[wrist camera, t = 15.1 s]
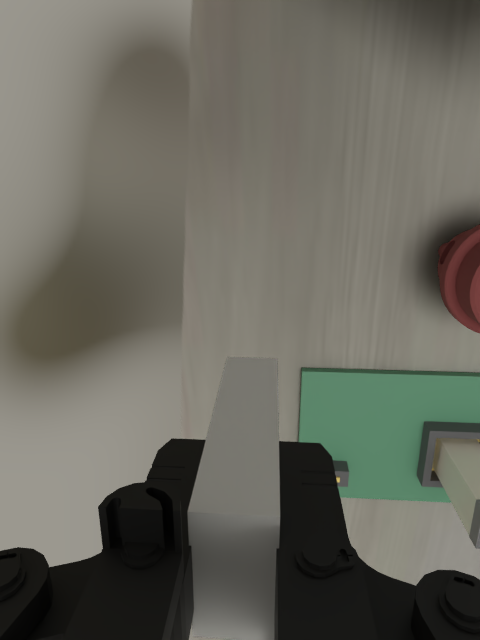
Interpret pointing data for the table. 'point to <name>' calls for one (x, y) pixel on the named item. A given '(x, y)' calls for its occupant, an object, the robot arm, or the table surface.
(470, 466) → the plug
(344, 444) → the board
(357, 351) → the table surface
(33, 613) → the robot arm
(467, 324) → the mechanical component
